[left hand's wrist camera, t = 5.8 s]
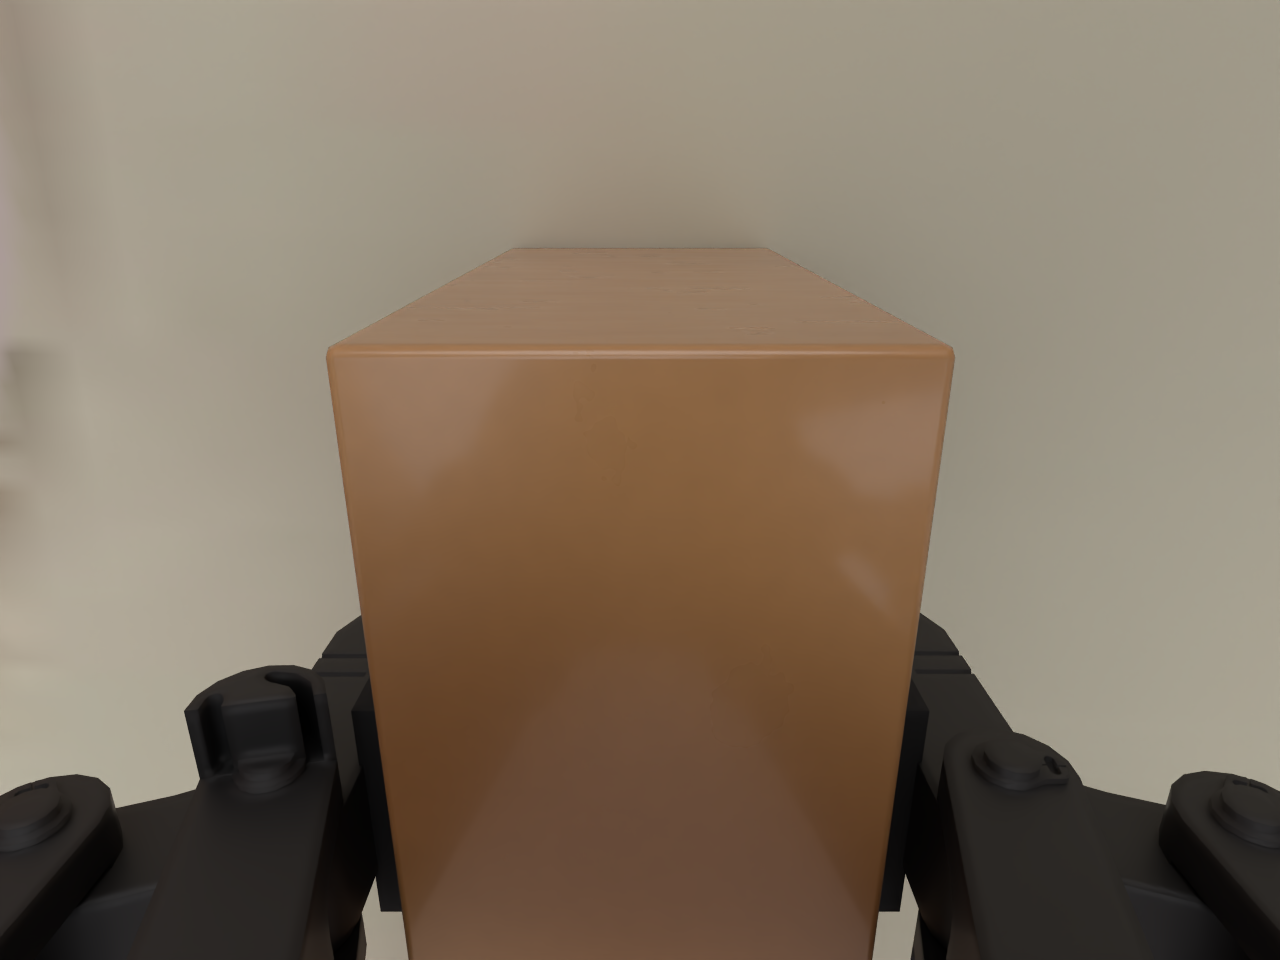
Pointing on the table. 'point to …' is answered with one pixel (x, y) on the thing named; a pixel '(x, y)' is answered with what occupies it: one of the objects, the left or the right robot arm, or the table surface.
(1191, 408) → the table surface
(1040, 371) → the table surface
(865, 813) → the wooden plank
